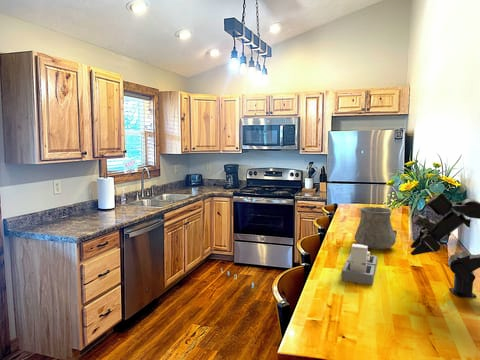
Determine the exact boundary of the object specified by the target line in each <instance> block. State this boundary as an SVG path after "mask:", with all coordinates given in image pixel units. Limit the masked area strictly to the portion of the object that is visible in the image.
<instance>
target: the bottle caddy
mask: <svg viewBox="0 0 480 360" xmlns="http://www.w3.org/2000/svg"><path fill="white" fill-rule="evenodd" d="M350 262H351V252H350V253H349V254H348V258H347V259H346V262H345V263H344V265H343V268H342V271H341V281H344V282H349V281H351V282H350V283H356V282H357V283H358V284H362V283H363V284H364V285H368V284H369V286H373V284H374V280H375V275H376V270H377V265H378V255H371V252H370V251H368V250H367V265H366V273H363V272H356V271H350ZM357 283H356V284H357ZM363 284H362V285H363Z"/></svg>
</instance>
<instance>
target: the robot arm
mask: <svg viewBox="0 0 480 360" xmlns="http://www.w3.org/2000/svg"><path fill="white" fill-rule="evenodd" d="M425 205H426V206H427V207H428V208H429V209H430V210H431V211H432V212H433V213H434V214H435V215H436V216H442V217H441V218H440V219H435V220H434V221H433V220H432V219H430V218H429V217H427V216H424V215H422V214H418V215H417V217H416V218H415V219H414V224H415V225H417V226H420V228H419V230H418V231H419V233H418V234H419V235H418V236H417V237H416V238H415V240H414V241H413V242H412V243H411V244H410V248H411V249H413V250H412V251H411V252H410V255H411V256H417V255H423V254H428V253H437V252H439V251H440V250H441V247H442V246H441V242H442V240H443V239H444V238H446V237H447V236H448V237H450V236H451V235H452V233H453V232H455V231H456V230H457V229H458V228H460V227H461V226H463V225H465V227H467V228H469V229H470V228H471V222H472V220H471V219H472V218H473V219H478V220H480V201H477V200H476V199H472V198H466V199H463V200H462V201H451V200H450V199H449V198H448V197H446V195H445V193H443V192H440V193H439V194H437V195H435V196H432V197H431V198H429V200H428V201H426V202H425ZM467 217H468V218H467ZM447 263H448V266H449V269H450V271H451V272H452V273H453V274H454V277H453V278H454V279H453V287H449V289H448V290H449V291H450V292H451V293H453V294H454V295H455V296H456V297H459V298H477V297H478V296H477V294H475V293H474V292H473V289H474V282H475V279H476V275H475V273H474V271H476V270H478V269H480V253H478V254H470V253H469V252H468V250H463V251H461V252H454V254H452V255H450V256H449V258H448V260H447Z"/></svg>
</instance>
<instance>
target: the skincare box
mask: <svg viewBox="0 0 480 360" xmlns="http://www.w3.org/2000/svg"><path fill="white" fill-rule="evenodd" d="M368 249H369V248H368V246H367V245H360V244H358V243H352V245H351V248H350V250H351V251H350V253H351V262H350V271H356V272H363V273H366V265H367V251H368Z"/></svg>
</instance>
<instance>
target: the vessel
mask: <svg viewBox="0 0 480 360" xmlns="http://www.w3.org/2000/svg"><path fill="white" fill-rule="evenodd" d="M359 210H360V219H359V224H358V226H357V229H356V232H355V234H354V241H355V242H356V244H360V245H367V246H368V249H373V250H386V249H389V248H391V247H393V246H394V245H395V244H396V242H397V233H398V231H397V230H396V229H394V228H393V226H392V221H391V220H392V219H391V215H392V210H391V209H389V208H386V207H381V206H379V207H378V206H363V207H360V209H359Z"/></svg>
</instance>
